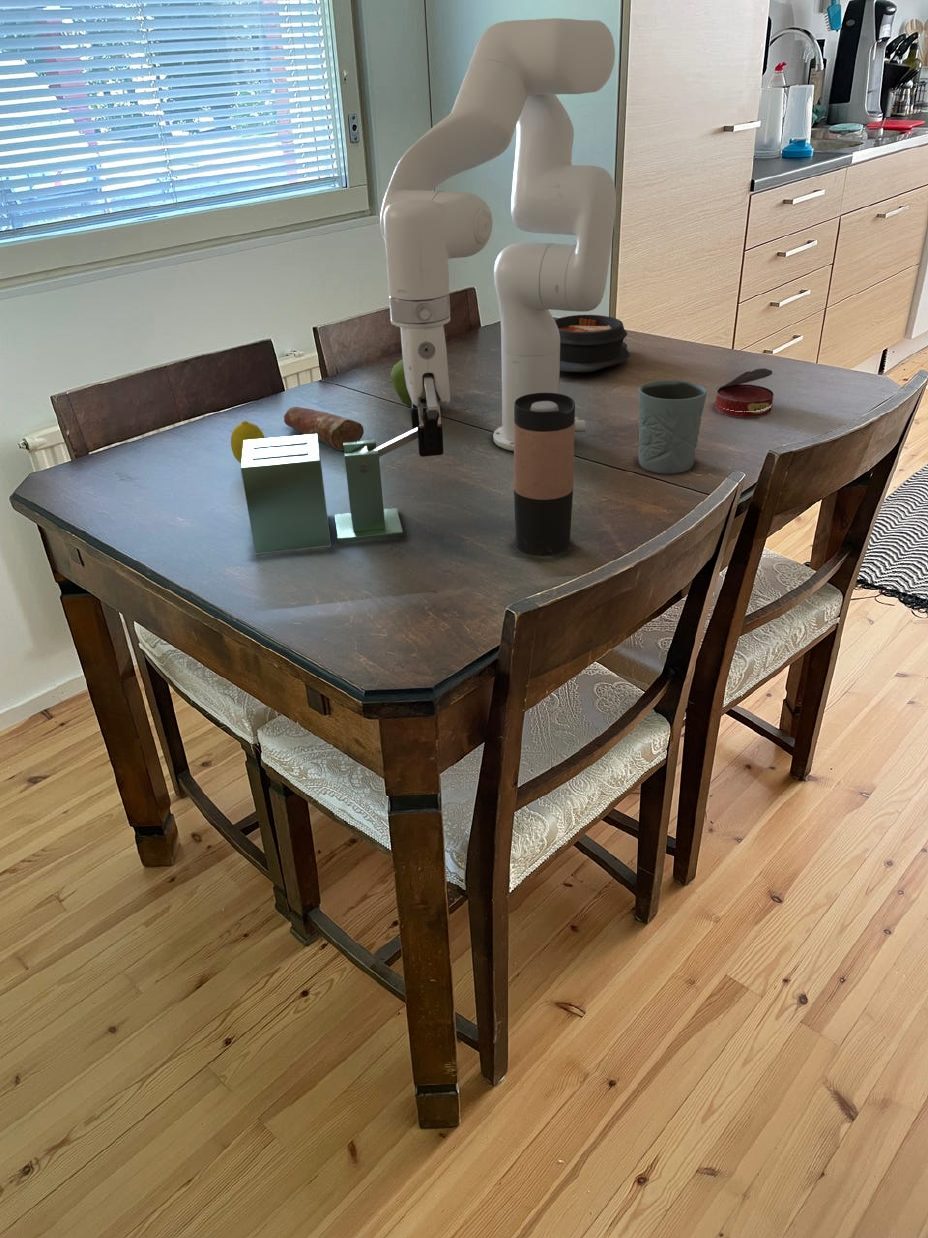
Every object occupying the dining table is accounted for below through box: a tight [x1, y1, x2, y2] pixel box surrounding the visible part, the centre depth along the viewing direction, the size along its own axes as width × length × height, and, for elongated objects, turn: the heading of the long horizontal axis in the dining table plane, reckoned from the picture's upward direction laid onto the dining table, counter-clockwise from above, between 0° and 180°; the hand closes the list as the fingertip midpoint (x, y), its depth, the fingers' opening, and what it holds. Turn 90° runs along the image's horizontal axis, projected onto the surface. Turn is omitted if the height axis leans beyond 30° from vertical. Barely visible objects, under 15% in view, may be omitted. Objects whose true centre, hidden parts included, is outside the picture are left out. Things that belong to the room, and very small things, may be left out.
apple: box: [390, 358, 450, 409], centre depth 172 cm, size 11×10×10 cm
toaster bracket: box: [333, 439, 404, 544], centre depth 127 cm, size 9×8×12 cm
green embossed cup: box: [638, 379, 708, 475], centre depth 144 cm, size 10×10×12 cm
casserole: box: [554, 314, 631, 374], centre depth 193 cm, size 25×19×8 cm
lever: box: [352, 428, 418, 458], centre depth 124 cm, size 12×6×2 cm, turn 99°
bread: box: [283, 406, 365, 451], centre depth 161 cm, size 6×19×6 cm, turn 39°
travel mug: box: [513, 393, 576, 557], centre depth 118 cm, size 8×8×20 cm
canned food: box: [714, 367, 774, 419], centre depth 166 cm, size 11×10×10 cm
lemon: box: [230, 420, 265, 464], centre depth 149 cm, size 6×6×8 cm
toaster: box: [240, 434, 332, 556], centre depth 125 cm, size 10×10×13 cm
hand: (427, 444), depth 125 cm, fingers open, 6 cm apart
